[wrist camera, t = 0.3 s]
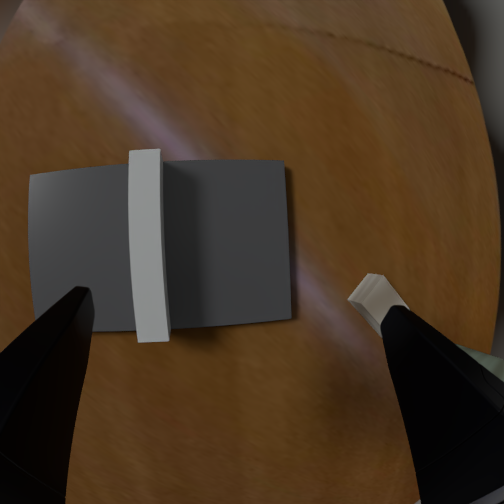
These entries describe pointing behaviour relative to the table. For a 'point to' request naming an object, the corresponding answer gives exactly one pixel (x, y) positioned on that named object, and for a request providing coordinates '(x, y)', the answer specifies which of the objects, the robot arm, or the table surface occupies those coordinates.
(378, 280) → the bar
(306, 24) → the table surface
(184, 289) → the fulcrum stand
